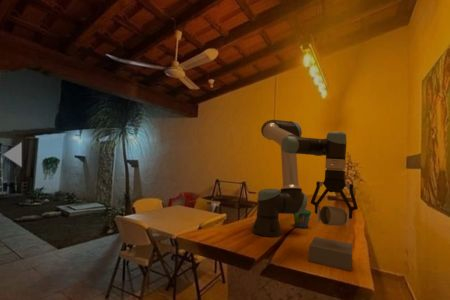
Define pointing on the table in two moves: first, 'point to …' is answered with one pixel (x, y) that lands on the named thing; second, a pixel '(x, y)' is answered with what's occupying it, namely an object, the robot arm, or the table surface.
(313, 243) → the slate block
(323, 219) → the ceramic mug
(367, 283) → the table surface
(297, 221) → the snack cup
